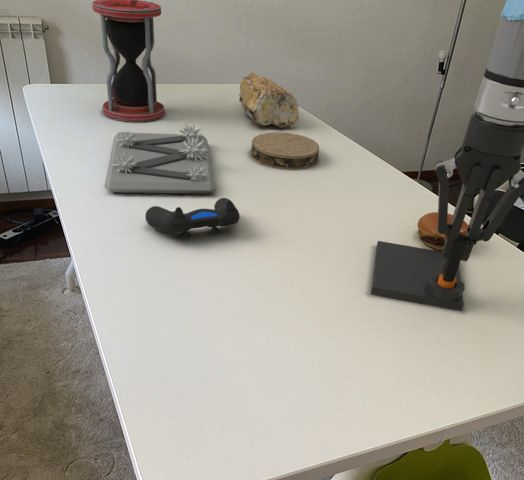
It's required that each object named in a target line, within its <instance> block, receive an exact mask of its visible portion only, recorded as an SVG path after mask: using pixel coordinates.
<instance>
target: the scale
mask: <svg viewBox="0 0 524 480" xmlns="http://www.w3.org/2000/svg"><path fill="white" fill-rule="evenodd" d="M446 260H447V258H443V252H442V250H436V249H435V250H434V249H429V248H424V247H416V246H411V245H405V244H400V243H394V242H389V241H388V242H387V241H382V240H377V243H376V246H375V256H374V263H373V271H372V278H371V279H372V280H371V281H372V282H371V287H370V289H371V290H370V295H373V296H378V297H384V298H389V299H395V300H400V301H405V302H411V303H417V304H422V305H427V306H433V307H438V308H444V309H450V310H455V311H462V309H463V307H464V302H465V301H464V291H465V283H464V282H463V281H462V279H461V271H460V266H459V267H458V269H457V272H456V275H455V278H456V283H455V286H454V288H450V289H449V288H444V287H442V286H439V285H438V284H437V282H438V279H439V276H440V275H441V274H443V269H444V266H445V263H446Z"/></svg>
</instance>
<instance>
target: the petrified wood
mask: <svg viewBox="0 0 524 480" xmlns="http://www.w3.org/2000/svg"><path fill="white" fill-rule="evenodd" d="M238 95H239V99H238V101H239V102H240V104H241V105H240V106H242V108H243V110H244V111H245V116H246V117H247V118H248V119H249V120H250V121H251V122H253V123H254V124H256V125H261V126H270V125H274V126H277V127H279V128H281V129H285V128H287V127H290V125H293V124H294V122H297V121H299V119H300V116H299V115H300V111H299V109H300V108H299V104H298V101H297V99H296V98H295V96H294V95H293V94H292V93H290V92H289V91H287V90H286V89H285V88H283V87H281V86H279V85H277V83H276V82H274V81H273V80H272V79H269V78H266V77H264V76H263V77H260V76H258V75H257V74H256V73H255V72H250V73H249V74H248V76H245V77H243V78H242V79H241V82H240V84H239V94H238Z"/></svg>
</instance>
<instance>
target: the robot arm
mask: <svg viewBox="0 0 524 480" xmlns="http://www.w3.org/2000/svg"><path fill="white" fill-rule="evenodd" d="M496 30H497V31H496V33H495V37H494V41H493V44H492V48H491V51H490V54H489V58H488V61H487V64H486V68H485V71H484V74H483V77H482V80H481V82H480V86H479V89H478V93H477V96H476V99H475V102H474V105H473V109H474V110H475V111H476V112H473V114H471V115H470V118H469V121H468V123H467V124H468V125H467V127H466V131H465V134H464V138H463V141H462V144H461V146H460V148H459V149H458V150H457V151H456V152H455V153H454V157H452V158H450V159H448V160H446V161H443V160H438V161H436V163H435V164H434V166H435V167H434V168H435V174H436V177H437V180H438V199H437V201H438V202H437V203H438V204H437V212H438V232H439V233H440V234H444V235H446V236H447V237H446V240H445V243H444V247H443V250H441V252H443V258H447V260H446V263H445V266H444V269H443V280H445V281H451V282H453V281H454V278H455V275H456V272H457V269H458V267H459V268H460V264H461V261H462V262H467V261H469V259H470V256H471V253H472V251H473V248H474V246H475V245H476V244H477V242H480V241H483V242H489V241H490V240H491V239H492V237H493V235H495V233H496V232H497V230H498V229H499V227H500V226H501V224H502V223H503V221H504V220H505V219H506V217H507V215H508V214H509V212H510V211H511V209H512V208H513V207H514V205H515V203H516V202H517V201H518V200H519V198H520V197H521V196H522V195H524V171H523V170H522V168H521V167H522V164H521V157H522V154H523V152H524V0H506V1H505V4H504V6H503V9H502V10H501V12H500V20H499V23H498V26H497V29H496ZM455 168H456V171H457V172H458V173H457V174H458V175H459V177H460V180H461V182H462V185H461V189H460V193H459V196H458V198H457V200H456V201H457V202H456V205H455V207H454V211H453V214H452V215H453V217H452V220H451V223H450V224H448V223H447V216H448V214H449V212H448V211H449V195H450V181H449V178H451V177H452V176H454V169H455ZM509 180H510V182H509V184H510V185H509V186H508V187H507V189H506V190H505V191H504V193H503V194H502V196H501V197H500V199H499V201H498V202H497V204H496V205H495V207H494V208H493V210H492V211H491V213H490V214H489V216H488V217H487V218H486V220H485V217H486V215H487V212H488V209H489V206H490V203H491V200H493V198H494V194H495V192H496V190H497V189H499V188H500V187H502V186H503V185H504V184H505V183H507V182H508V181H509ZM478 189H479V194H478V197H477V200H476V203H475V206H474V208H473V212H472V214H471V217H470V220H469V223H468V225H469V226H468V229H467V232H466V236H465V235H461V234H459V232H460V230H461V227H462V224H463V221H465V218H466V214H467V212H468V209H469V206H470V203H471V200H472V197H473V196H474V194H475V190H478ZM484 220H485V221H484Z"/></svg>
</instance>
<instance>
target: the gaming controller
mask: <svg viewBox="0 0 524 480" xmlns="http://www.w3.org/2000/svg"><path fill="white" fill-rule="evenodd" d="M213 206H214V207H213V209H212V208H198V209H193V210H192V211H189V212H185V213H184V211H183V209H182V208H181V207H179V206H177V207H176V208H175V210H173V211H171V210H168V209H166V208H165V207H161V206H157V205H154V206H153V205H152V206H150V207H149V208H148V209H147V210H146V211H145V215H144V216H145V217H144V218H145V222H146V223H147V224H148V226H150V227H151V228H153V229H156V230H158V231H159V232H161V233H163V234H171V233H172V234H178V233H181V236H186V235H189V234H190V232H189V231H190V230H192V229H201V228H207V227H208V228H211V229H210V231H211V232H213V231H218V230H219V228H218V227H220V228H222V227H228V226H235V225H237V224H238V223H239V220H240V219H241V216H240V215H241V214H240V213H239V209H238V207H236V205H235V204H234V203H233V201H232V200H231V199H230V198H227V197H220V198H219V199H217V200H216V202H215V203H214V205H213Z"/></svg>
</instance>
